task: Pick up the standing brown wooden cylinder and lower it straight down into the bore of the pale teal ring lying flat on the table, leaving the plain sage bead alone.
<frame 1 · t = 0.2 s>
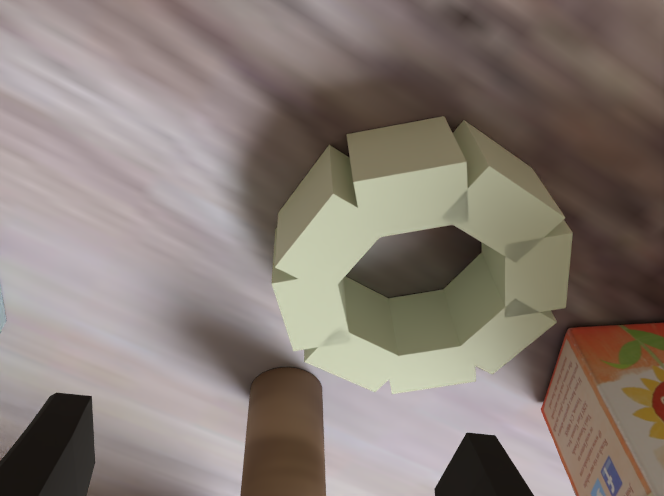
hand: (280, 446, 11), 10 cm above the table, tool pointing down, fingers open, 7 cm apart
brown wooden cylinder: (286, 391, 25), on the table
sage bead: (409, 241, 21), on the table
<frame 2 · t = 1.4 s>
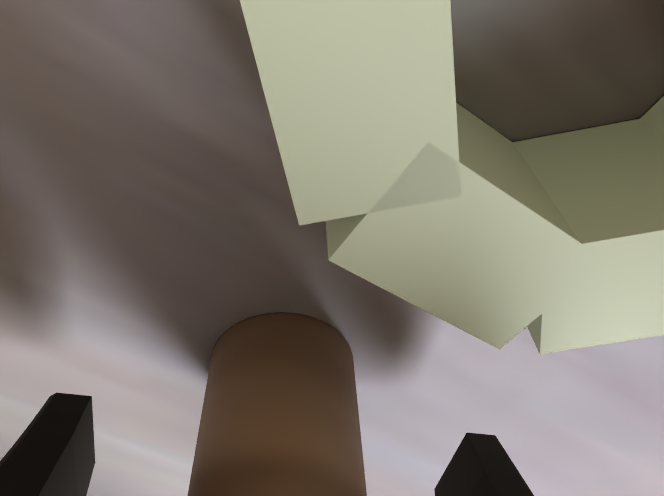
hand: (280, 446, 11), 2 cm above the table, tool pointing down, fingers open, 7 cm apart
brown wooden cylinder: (282, 365, 13), on the table
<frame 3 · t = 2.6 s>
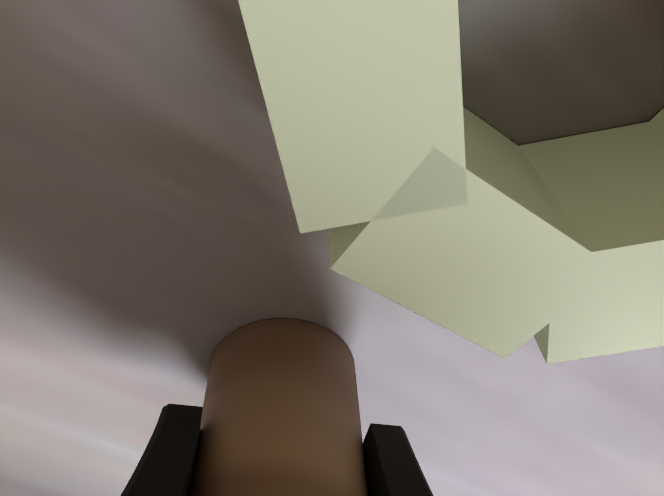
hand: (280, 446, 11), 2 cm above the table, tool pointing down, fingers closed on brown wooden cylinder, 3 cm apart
brown wooden cylinder: (283, 370, 13), on the table, touching gripper
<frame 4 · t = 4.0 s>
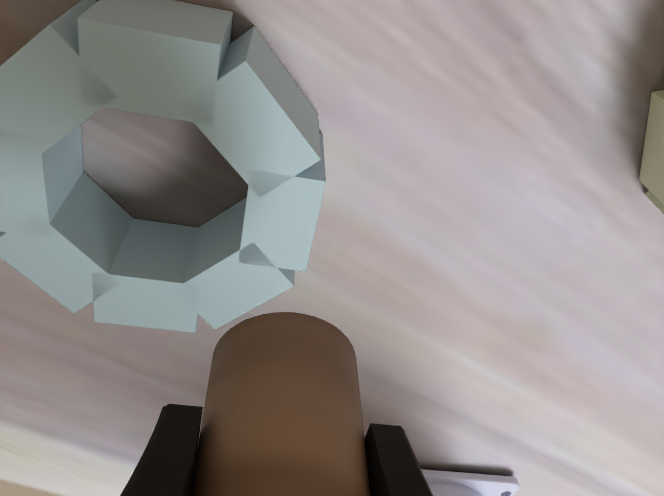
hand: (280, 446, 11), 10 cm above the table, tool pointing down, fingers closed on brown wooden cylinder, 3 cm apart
pale teal ring: (168, 154, 18), on the table
brown wooden cylinder: (284, 365, 13), point 7 cm above the table, touching gripper
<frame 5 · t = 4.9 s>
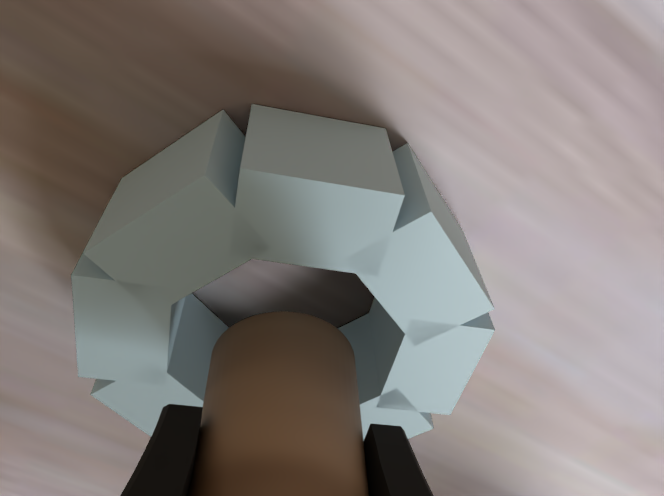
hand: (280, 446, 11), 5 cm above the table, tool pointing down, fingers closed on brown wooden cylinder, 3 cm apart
pale teal ring: (286, 272, 15), on the table
brown wooden cylinder: (283, 364, 13), point 3 cm above the table, touching gripper
when the fingers open (3 cm above the table, at t = 5.6 s): brown wooden cylinder drops 1 cm, resting in pale teal ring.
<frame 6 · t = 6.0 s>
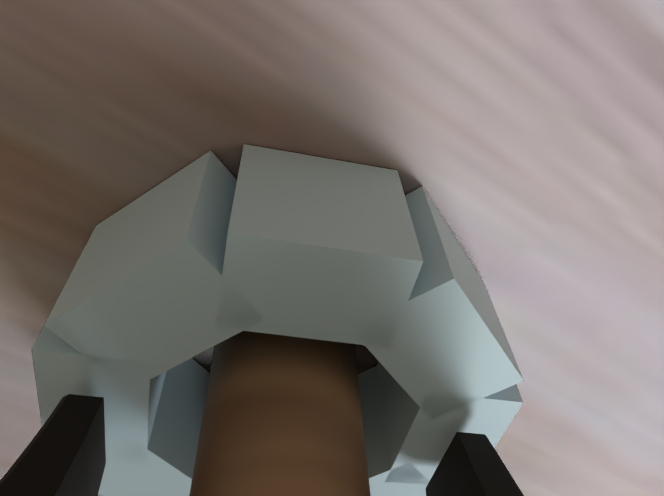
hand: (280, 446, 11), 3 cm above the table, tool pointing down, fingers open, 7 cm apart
pale teal ring: (284, 324, 14), on the table
brown wooden cylinder: (286, 321, 14), resting in pale teal ring
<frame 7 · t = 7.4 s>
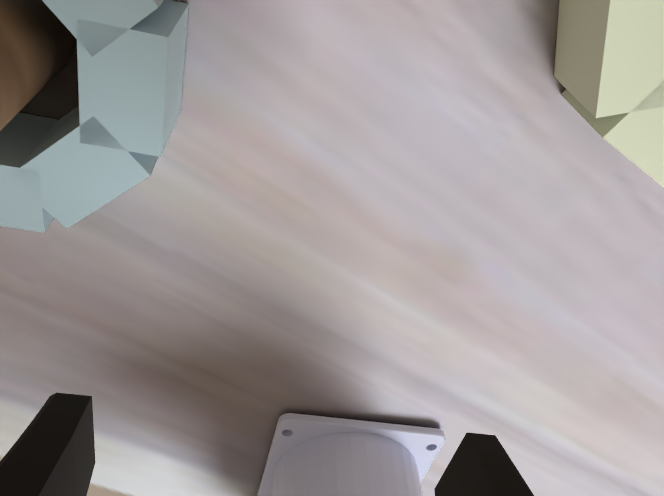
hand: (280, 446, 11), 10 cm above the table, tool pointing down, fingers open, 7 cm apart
pale teal ring: (12, 24, 15), on the table
brown wooden cylinder: (13, 21, 15), resting in pale teal ring
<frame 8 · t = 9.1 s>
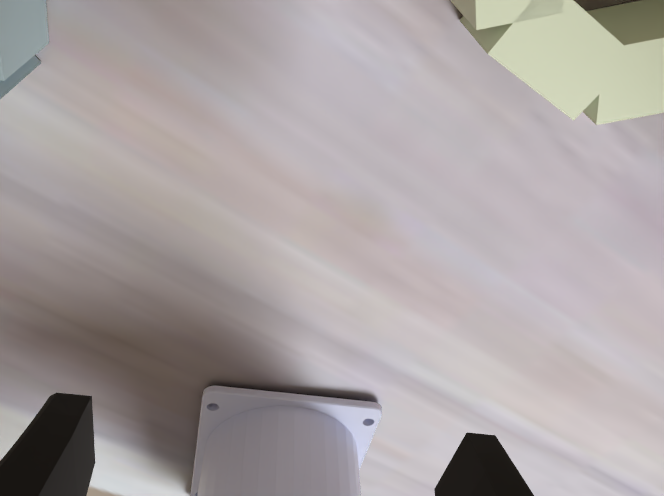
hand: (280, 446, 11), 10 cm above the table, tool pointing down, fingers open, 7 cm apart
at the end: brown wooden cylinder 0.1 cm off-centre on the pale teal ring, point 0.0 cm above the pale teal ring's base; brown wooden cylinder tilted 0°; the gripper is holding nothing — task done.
